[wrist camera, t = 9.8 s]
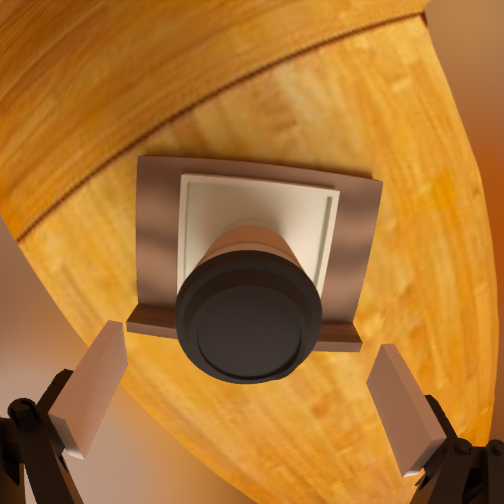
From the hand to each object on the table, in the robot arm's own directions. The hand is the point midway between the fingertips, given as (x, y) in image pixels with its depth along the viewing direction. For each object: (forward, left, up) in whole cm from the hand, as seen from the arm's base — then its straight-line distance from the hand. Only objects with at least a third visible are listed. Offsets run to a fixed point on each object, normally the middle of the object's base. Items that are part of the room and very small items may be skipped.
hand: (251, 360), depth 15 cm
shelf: (0, 0, -20) cm, 20 cm away
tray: (0, 0, -17) cm, 17 cm away
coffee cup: (0, 0, -17) cm, 17 cm away
